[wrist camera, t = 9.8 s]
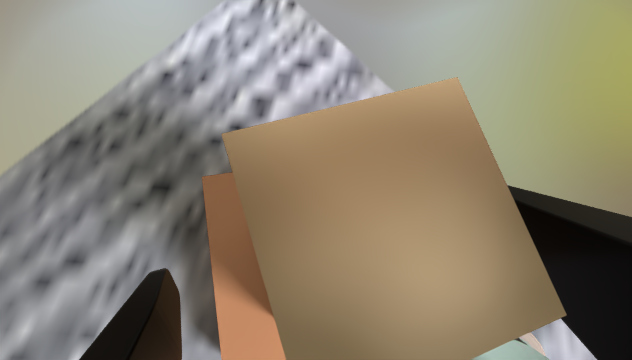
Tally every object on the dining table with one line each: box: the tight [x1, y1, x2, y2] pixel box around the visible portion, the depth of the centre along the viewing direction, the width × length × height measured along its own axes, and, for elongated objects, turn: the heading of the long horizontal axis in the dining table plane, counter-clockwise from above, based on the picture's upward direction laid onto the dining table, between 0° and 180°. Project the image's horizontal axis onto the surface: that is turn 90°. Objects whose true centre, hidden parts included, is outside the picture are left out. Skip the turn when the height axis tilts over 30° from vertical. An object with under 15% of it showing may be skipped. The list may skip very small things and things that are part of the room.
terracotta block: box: [202, 172, 286, 360], centre depth 20 cm, size 10×10×4 cm
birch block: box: [222, 77, 566, 360], centre depth 12 cm, size 5×5×12 cm
